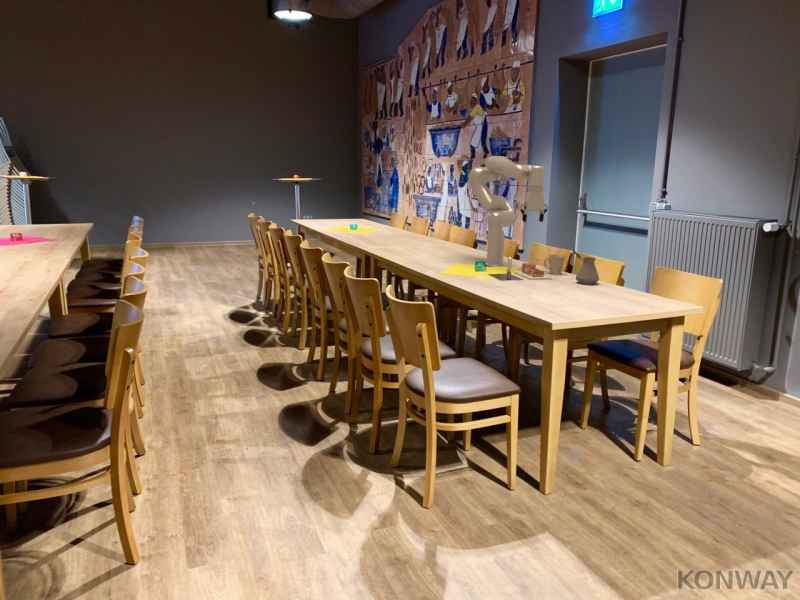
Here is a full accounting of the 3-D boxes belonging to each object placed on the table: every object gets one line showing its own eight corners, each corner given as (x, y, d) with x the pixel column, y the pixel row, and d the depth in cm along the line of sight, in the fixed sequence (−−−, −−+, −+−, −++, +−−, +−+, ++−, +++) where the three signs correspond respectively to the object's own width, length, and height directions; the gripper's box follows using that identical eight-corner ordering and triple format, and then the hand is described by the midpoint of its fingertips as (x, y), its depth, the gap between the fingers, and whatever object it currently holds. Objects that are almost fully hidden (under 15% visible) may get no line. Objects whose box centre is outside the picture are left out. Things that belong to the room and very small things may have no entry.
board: (513, 274, 334) (513, 271, 333) (533, 274, 337) (533, 270, 336) (529, 282, 315) (530, 278, 314) (551, 281, 318) (551, 277, 317)
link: (521, 272, 331) (522, 262, 330) (531, 271, 332) (531, 262, 331) (533, 277, 317) (534, 267, 316) (543, 276, 319) (544, 267, 318)
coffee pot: (603, 285, 311) (606, 255, 308) (583, 285, 308) (586, 255, 305) (579, 277, 331) (582, 249, 328) (560, 277, 328) (562, 249, 325)
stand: (486, 276, 329) (488, 253, 326) (509, 275, 332) (511, 253, 329) (500, 282, 312) (501, 258, 309) (524, 281, 315) (525, 258, 312)
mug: (556, 275, 334) (558, 257, 332) (538, 272, 344) (539, 254, 341) (566, 274, 339) (567, 256, 337) (547, 270, 349) (548, 253, 347)
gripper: (546, 189, 337) (544, 220, 340) (517, 188, 332) (514, 220, 336) (553, 190, 329) (550, 222, 333) (523, 189, 325) (520, 222, 329)
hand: (532, 221), depth 335 cm, fingers open, 9 cm apart
